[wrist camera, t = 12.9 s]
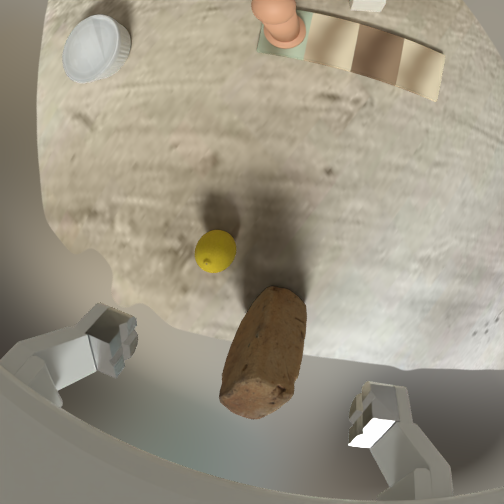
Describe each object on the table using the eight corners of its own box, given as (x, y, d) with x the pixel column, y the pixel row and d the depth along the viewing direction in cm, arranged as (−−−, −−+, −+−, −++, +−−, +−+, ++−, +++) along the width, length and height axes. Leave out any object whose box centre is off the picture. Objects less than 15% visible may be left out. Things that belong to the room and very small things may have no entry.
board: (443, 56, 28) (445, 55, 27) (434, 101, 31) (436, 101, 31) (267, 7, 31) (266, 5, 30) (257, 52, 34) (256, 51, 33)
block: (277, 274, 47) (250, 370, 30) (313, 302, 48) (303, 403, 31) (237, 314, 52) (199, 406, 35) (271, 338, 53) (246, 433, 36)
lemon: (242, 256, 47) (228, 284, 40) (208, 254, 48) (189, 280, 41) (241, 222, 45) (225, 245, 38) (205, 221, 46) (183, 243, 39)
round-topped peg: (309, 17, 30) (304, -20, 19) (302, 52, 32) (294, 26, 21) (268, 11, 30) (247, -26, 19) (261, 45, 33) (236, 19, 22)
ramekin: (150, 35, 35) (131, 29, 30) (112, 95, 40) (91, 96, 35) (106, 10, 33) (86, 4, 29) (73, 66, 38) (52, 65, 34)
